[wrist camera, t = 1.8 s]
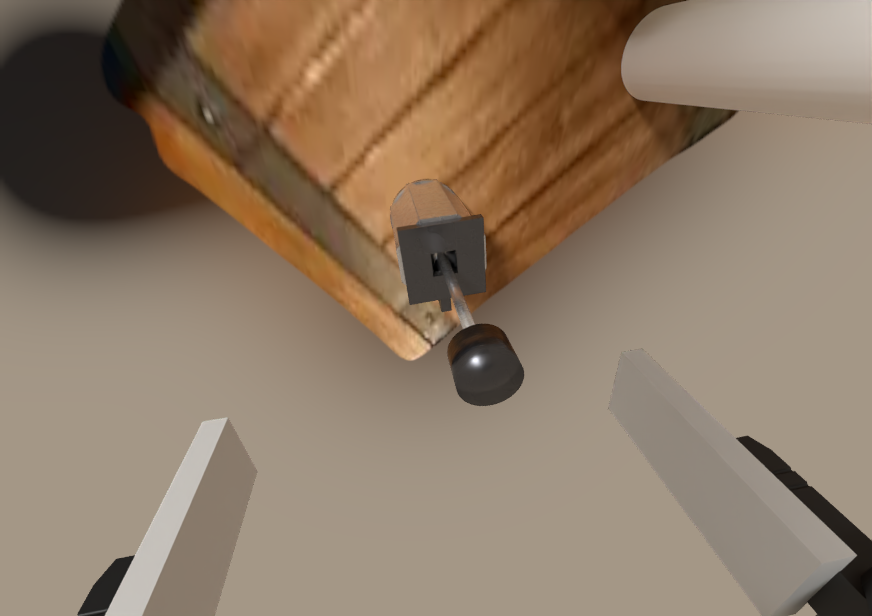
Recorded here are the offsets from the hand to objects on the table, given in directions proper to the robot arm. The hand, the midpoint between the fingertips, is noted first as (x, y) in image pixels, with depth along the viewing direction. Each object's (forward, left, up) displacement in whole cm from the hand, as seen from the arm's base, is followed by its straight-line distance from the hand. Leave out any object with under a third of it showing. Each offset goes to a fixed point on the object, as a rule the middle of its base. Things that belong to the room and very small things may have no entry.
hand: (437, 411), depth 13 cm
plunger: (+7, +4, -28) cm, 29 cm away
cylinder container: (-8, +34, -40) cm, 53 cm away
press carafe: (+8, +4, -40) cm, 41 cm away
